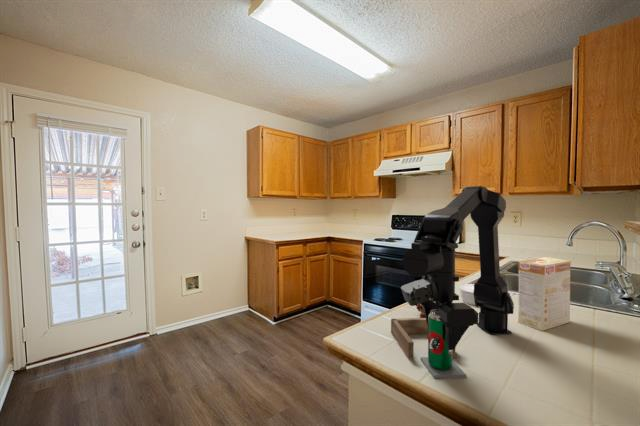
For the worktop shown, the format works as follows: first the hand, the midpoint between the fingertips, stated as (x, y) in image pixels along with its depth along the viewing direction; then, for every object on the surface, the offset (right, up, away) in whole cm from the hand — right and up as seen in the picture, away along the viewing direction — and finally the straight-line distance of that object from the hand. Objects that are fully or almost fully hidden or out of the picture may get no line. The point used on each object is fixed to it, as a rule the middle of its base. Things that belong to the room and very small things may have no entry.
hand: (440, 338), depth 61 cm
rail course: (0, -6, +11) cm, 13 cm away
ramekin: (+32, -6, +43) cm, 54 cm away
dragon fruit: (+10, -6, +30) cm, 32 cm away
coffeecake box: (+43, -6, +24) cm, 50 cm away
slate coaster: (0, -7, 0) cm, 7 cm away
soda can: (0, -6, 0) cm, 6 cm away
